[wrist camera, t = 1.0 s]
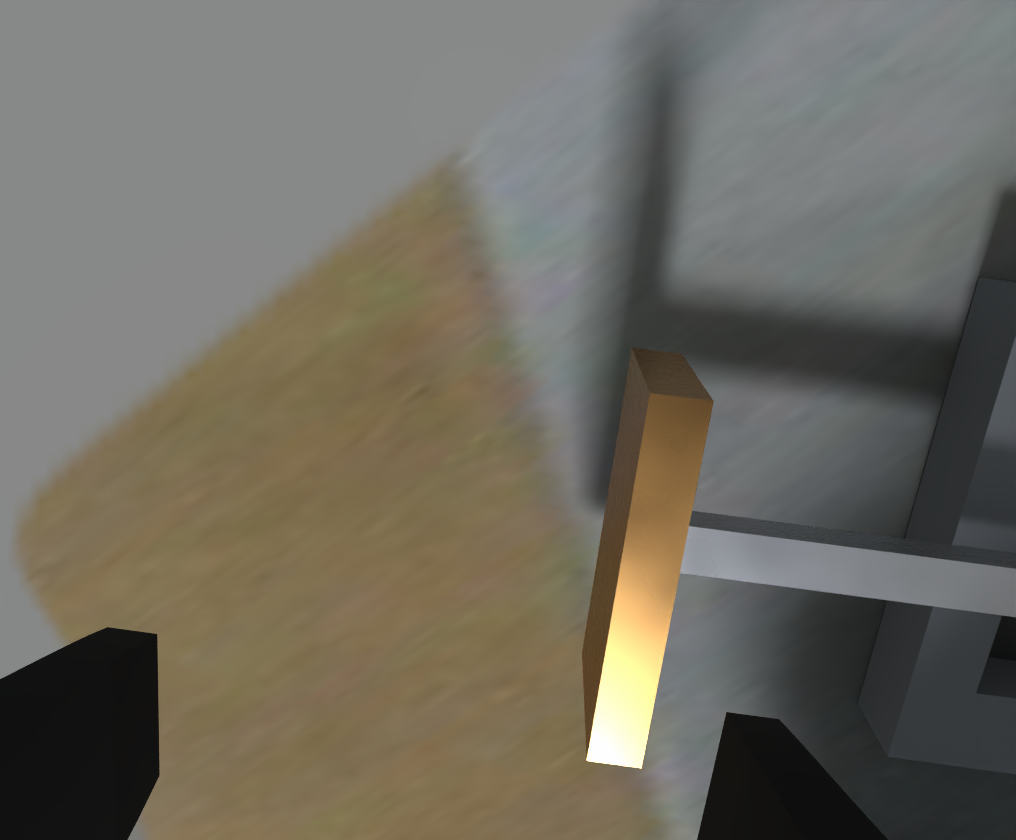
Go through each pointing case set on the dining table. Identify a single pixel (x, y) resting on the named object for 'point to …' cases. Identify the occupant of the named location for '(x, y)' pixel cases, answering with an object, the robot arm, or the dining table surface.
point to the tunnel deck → (966, 522)
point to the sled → (723, 555)
